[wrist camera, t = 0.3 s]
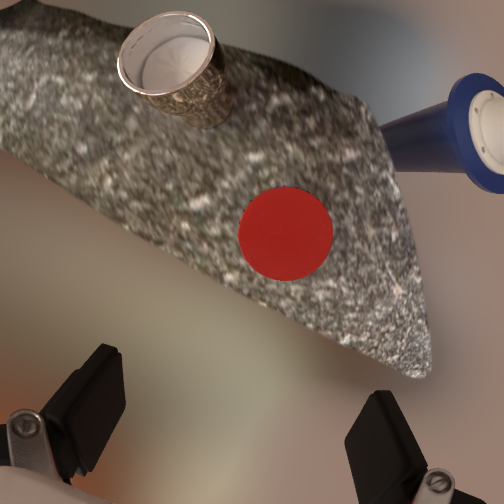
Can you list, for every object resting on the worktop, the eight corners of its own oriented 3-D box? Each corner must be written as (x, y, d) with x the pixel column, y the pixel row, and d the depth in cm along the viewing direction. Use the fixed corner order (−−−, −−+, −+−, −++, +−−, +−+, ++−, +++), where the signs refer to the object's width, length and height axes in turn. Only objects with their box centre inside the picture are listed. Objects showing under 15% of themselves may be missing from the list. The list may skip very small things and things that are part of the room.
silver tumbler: (224, 66, 27) (198, -6, 13) (246, 118, 29) (234, 69, 14) (167, 90, 28) (105, 39, 14) (187, 142, 30) (129, 117, 15)
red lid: (291, 167, 21) (293, 166, 20) (344, 237, 23) (351, 242, 21) (221, 224, 23) (217, 228, 21) (276, 290, 24) (278, 299, 22)
